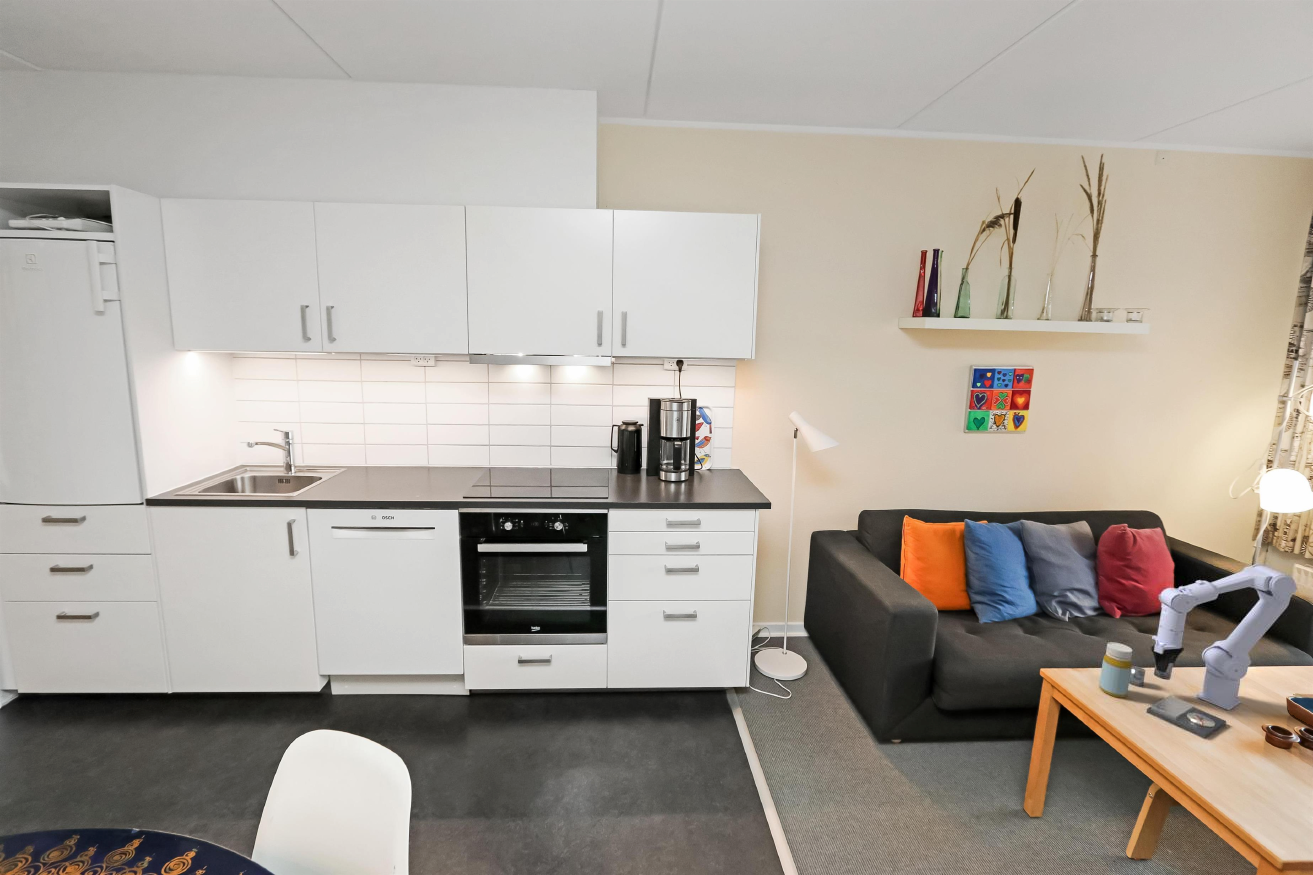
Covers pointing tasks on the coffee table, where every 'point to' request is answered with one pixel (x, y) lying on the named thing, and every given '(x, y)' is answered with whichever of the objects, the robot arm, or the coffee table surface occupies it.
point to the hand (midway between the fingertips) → (1164, 669)
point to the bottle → (1116, 670)
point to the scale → (1186, 716)
